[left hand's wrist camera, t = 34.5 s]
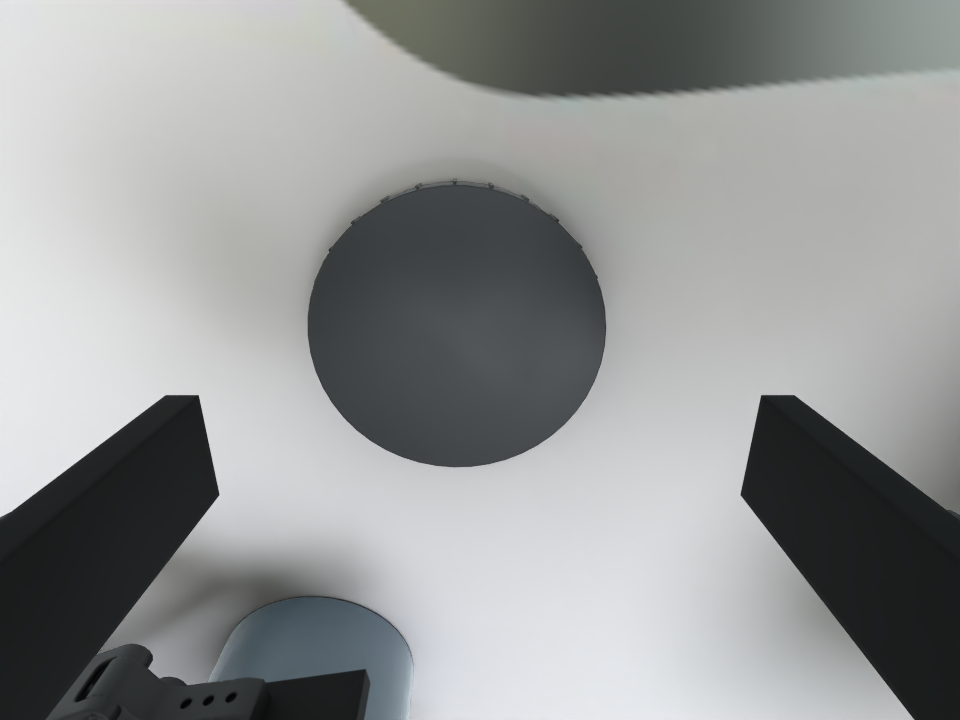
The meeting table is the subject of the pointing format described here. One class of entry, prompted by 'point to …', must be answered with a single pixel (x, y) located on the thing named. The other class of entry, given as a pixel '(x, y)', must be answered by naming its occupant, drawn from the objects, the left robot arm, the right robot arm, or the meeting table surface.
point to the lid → (456, 324)
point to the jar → (322, 650)
